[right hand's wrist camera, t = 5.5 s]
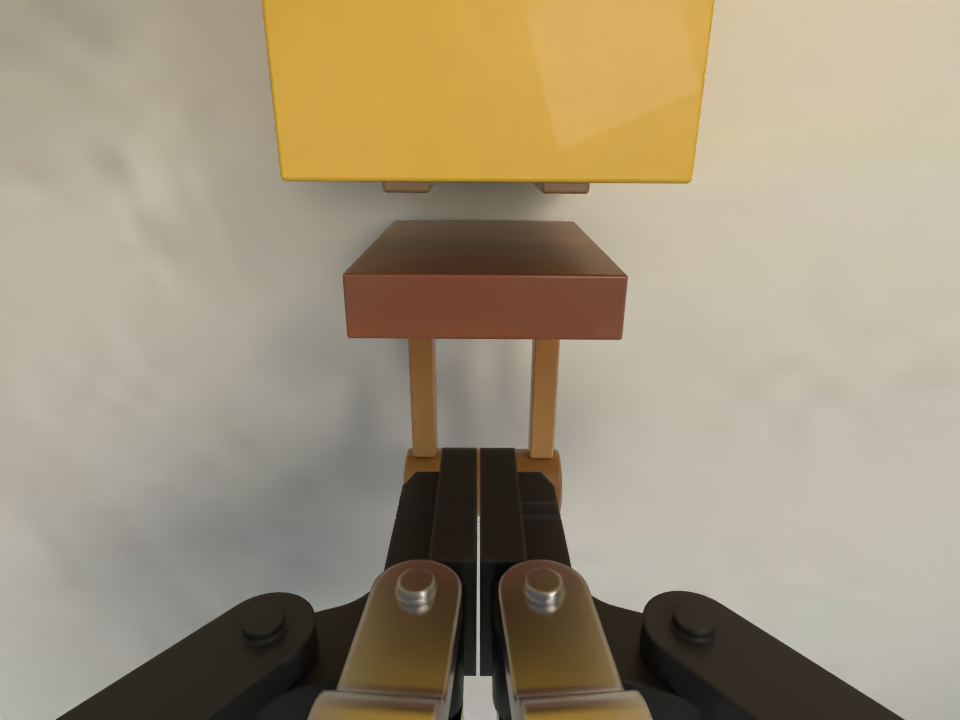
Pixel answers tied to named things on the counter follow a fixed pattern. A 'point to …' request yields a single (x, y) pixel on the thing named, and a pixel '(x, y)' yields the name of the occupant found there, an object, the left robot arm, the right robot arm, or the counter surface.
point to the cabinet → (487, 89)
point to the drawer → (485, 308)
